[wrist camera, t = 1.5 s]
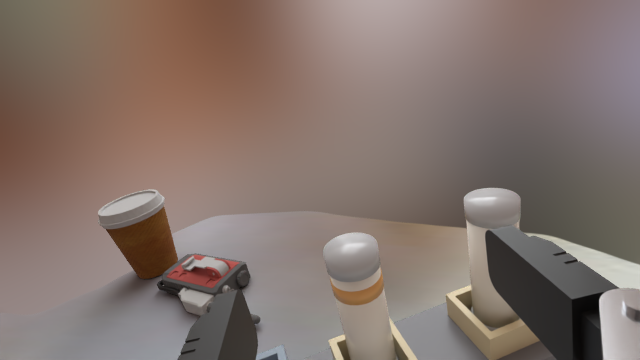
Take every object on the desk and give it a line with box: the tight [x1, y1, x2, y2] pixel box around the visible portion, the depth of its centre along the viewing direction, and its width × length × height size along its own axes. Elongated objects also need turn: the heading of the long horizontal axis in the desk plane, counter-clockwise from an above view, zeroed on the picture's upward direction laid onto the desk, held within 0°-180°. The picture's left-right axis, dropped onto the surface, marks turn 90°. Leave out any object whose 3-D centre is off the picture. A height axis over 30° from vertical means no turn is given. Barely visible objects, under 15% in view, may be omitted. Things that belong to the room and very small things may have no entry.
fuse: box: [464, 188, 520, 331], centre depth 30 cm, size 4×4×13 cm
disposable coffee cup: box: [98, 190, 178, 279], centre depth 55 cm, size 10×10×12 cm
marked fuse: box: [323, 233, 398, 360], centre depth 28 cm, size 4×4×13 cm
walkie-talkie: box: [157, 254, 260, 324], centre depth 47 cm, size 9×4×20 cm
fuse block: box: [305, 285, 557, 360], centre depth 31 cm, size 23×9×4 cm, turn 106°
